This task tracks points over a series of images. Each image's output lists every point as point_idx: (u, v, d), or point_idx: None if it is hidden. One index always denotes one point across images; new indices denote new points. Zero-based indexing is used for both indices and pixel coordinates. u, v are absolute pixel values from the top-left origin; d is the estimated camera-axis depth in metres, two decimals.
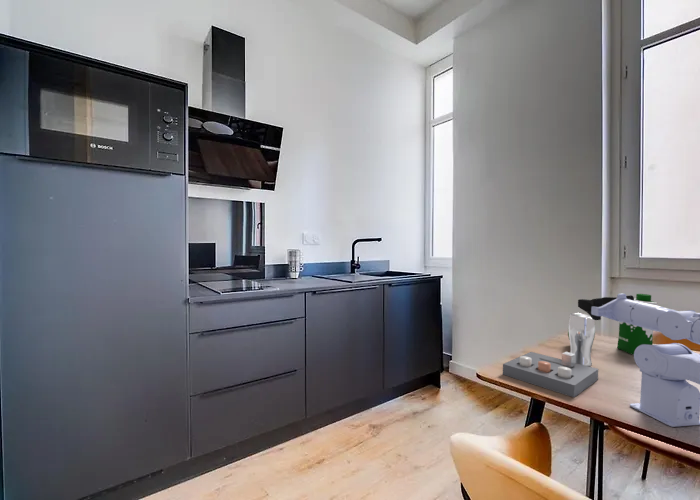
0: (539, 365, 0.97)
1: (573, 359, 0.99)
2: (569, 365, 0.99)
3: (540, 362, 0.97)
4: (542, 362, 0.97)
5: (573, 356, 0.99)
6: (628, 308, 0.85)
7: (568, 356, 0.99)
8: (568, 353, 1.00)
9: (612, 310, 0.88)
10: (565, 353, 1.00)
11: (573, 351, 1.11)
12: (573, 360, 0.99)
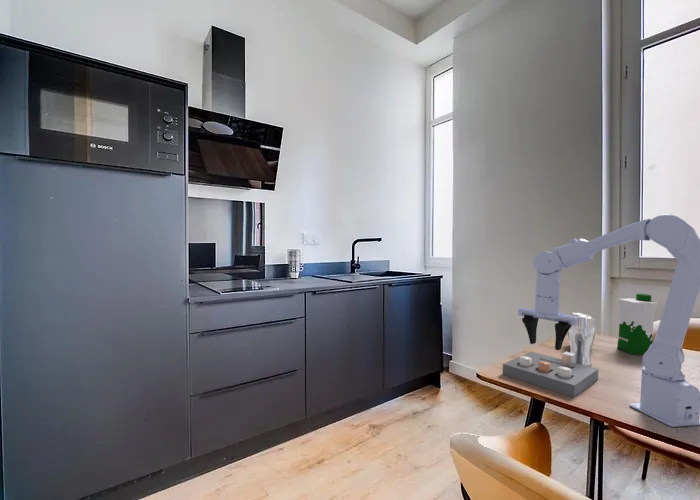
0: (539, 365, 0.97)
1: (573, 359, 0.99)
2: (569, 365, 0.99)
3: (540, 362, 0.97)
4: (542, 362, 0.97)
5: (573, 356, 0.99)
6: (555, 301, 0.94)
7: (568, 356, 0.99)
8: (568, 353, 1.00)
9: (558, 314, 0.94)
10: (565, 353, 1.00)
11: (573, 351, 1.11)
12: (573, 360, 0.99)
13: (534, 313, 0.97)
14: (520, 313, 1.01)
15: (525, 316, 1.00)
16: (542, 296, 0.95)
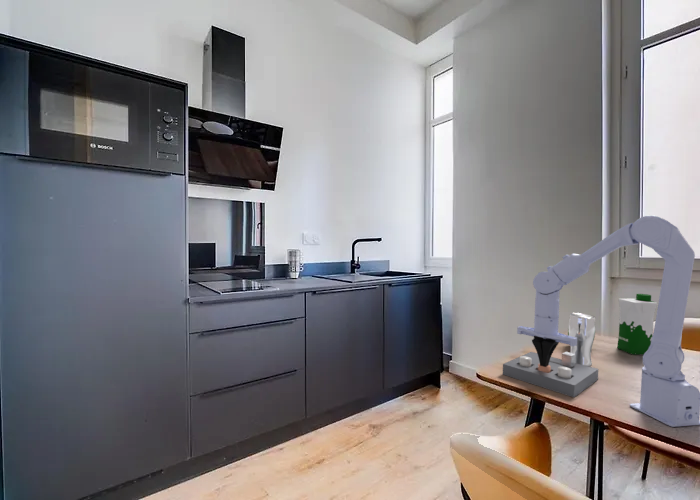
0: (539, 367, 0.97)
1: (573, 359, 0.99)
2: (569, 365, 0.99)
3: None
4: None
5: (573, 356, 0.99)
6: (554, 321, 0.94)
7: (568, 356, 0.99)
8: (568, 353, 1.00)
9: (557, 334, 0.94)
10: (565, 353, 1.00)
11: (573, 351, 1.11)
12: (573, 360, 0.99)
13: (533, 332, 0.97)
14: (519, 332, 1.01)
15: None
16: (541, 316, 0.95)
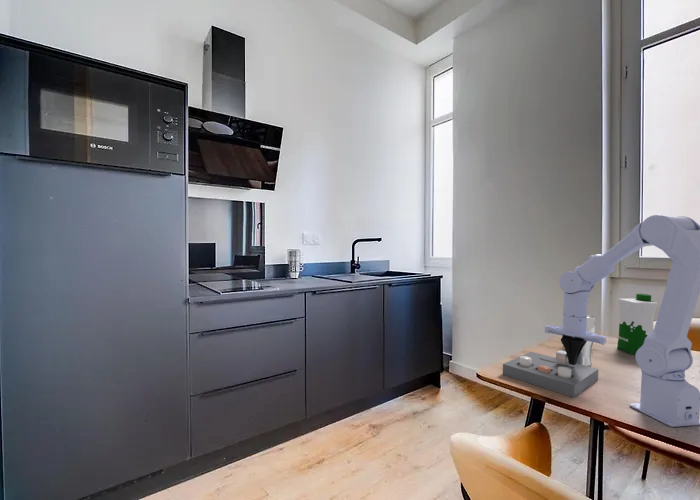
0: (539, 369, 0.97)
1: (567, 358, 1.00)
2: (563, 363, 1.00)
3: (540, 366, 0.98)
4: (542, 366, 0.98)
5: None
6: (583, 320, 0.96)
7: (562, 355, 1.00)
8: (562, 352, 1.01)
9: (586, 333, 0.97)
10: (559, 352, 1.01)
11: None
12: (567, 359, 1.01)
13: (562, 331, 0.99)
14: (547, 331, 1.04)
15: None
16: (566, 314, 0.98)
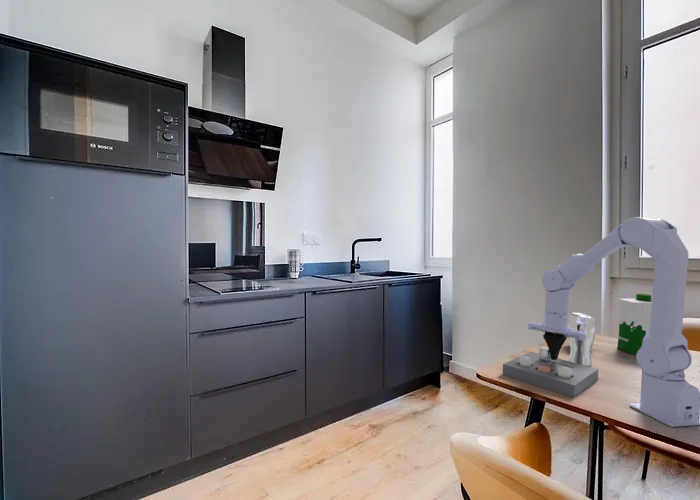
0: (539, 369, 0.97)
1: None
2: (546, 359, 1.03)
3: (540, 366, 0.98)
4: (542, 366, 0.98)
5: None
6: (563, 317, 1.00)
7: (545, 350, 1.04)
8: (545, 347, 1.05)
9: (567, 329, 1.00)
10: (542, 347, 1.05)
11: (573, 351, 1.11)
12: None
13: (544, 328, 1.03)
14: (530, 328, 1.07)
15: None
16: (548, 311, 1.02)
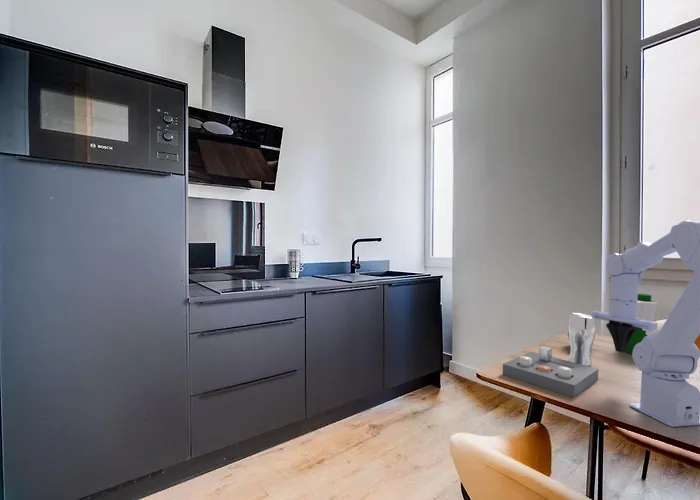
0: (539, 369, 0.97)
1: (550, 353, 1.04)
2: (546, 359, 1.03)
3: (540, 366, 0.98)
4: (542, 366, 0.98)
5: (550, 350, 1.04)
6: (630, 304, 0.91)
7: (545, 350, 1.04)
8: (545, 347, 1.05)
9: (635, 319, 0.91)
10: (542, 347, 1.05)
11: (573, 351, 1.11)
12: (550, 354, 1.04)
13: (607, 316, 0.95)
14: (593, 316, 0.99)
15: None
16: (611, 298, 0.94)
